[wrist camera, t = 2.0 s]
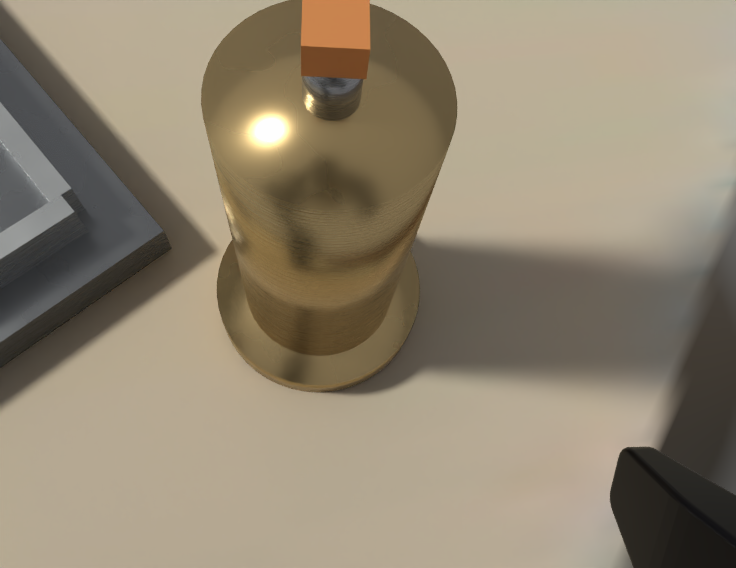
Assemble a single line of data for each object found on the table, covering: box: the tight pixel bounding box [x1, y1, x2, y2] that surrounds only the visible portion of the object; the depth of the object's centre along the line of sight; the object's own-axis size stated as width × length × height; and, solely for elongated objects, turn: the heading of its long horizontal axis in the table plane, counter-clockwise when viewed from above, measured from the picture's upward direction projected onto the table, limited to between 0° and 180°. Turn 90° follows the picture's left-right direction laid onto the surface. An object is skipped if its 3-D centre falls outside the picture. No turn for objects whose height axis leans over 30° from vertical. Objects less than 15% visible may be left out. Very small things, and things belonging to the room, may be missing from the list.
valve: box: [201, 0, 457, 392], centre depth 18 cm, size 8×7×14 cm
